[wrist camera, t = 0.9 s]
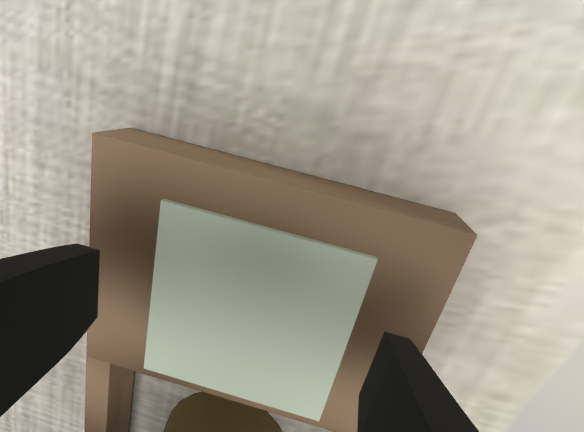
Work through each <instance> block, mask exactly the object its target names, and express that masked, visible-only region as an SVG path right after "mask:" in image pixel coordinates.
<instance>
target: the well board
mask: <svg viewBox="0 0 584 432" xmlns="http://www.w3.org/2000/svg"><path fill="white" fill-rule="evenodd" d="M476 237H477V234H476V233H475V232H474V231H473V230H472V229H471V228H470V227H469V226H468V225H467V224H466V223H465V222H464V221H463V220H462V219H461V218H460V217H459V216H458V215H457V214H456V213H452V212H448V211H444V210H440V209H437V208H433V207H429V206H425V205H421V204H418V203H414V202H410V201H406V200H402V199H399V198H395V197H391V196H387V195H383V194H380V193H376V192H372V191H368V190H364V189H361V188H357V187H353V186H349V185H345V184H342V183H338V182H334V181H330V180H326V179H323V178H319V177H315V176H311V175H307V174H304V173H300V172H296V171H292V170H288V169H285V168H281V167H277V166H273V165H269V164H266V163H262V162H258V161H254V160H250V159H247V158H243V157H239V156H235V155H231V154H228V153H224V152H220V151H216V150H212V149H209V148H205V147H201V146H197V145H193V144H190V143H186V142H182V141H178V140H174V139H171V138H167V137H163V136H159V135H155V134H152V133H148V132H144V131H140V130H136V129H133V128H125V129H118V130H110V131H102V132H95V133H92V170H91V208H90V246H89V247H91V248H94V249H98V250H100V262H99V290H98V317H97V318H96V320H95V321H94V322H93V323H92V325H91V326H90V327H89V328H88V330H87V360H86V398H85V432H129V426H130V415H131V404H132V393H133V382H134V371H136V372H140V373H143V374H146V375H150V376H153V377H156V378H159V379H163V380H166V381H169V382H173V383H176V384H179V385H182V386H186V387H189V388H192V389H196V390H199V391H202V392H206V393H209V394H212V395H215V396H219V397H222V398H225V399H229V400H232V401H235V402H239V403H242V404H245V405H248V406H252V407H255V408H258V409H262V410H265V411H268V412H272V413H275V414H278V415H281V416H285V417H288V418H291V419H295V420H298V421H301V422H305V423H308V424H311V425H314V426H318V427H321V428H324V429H328V430H331V431H334V432H357V428H358V402H359V393H360V391H361V388H362V386H363V383H364V381H365V378H366V376H367V373H368V371H369V368H370V366H371V363H372V361H373V359H374V356H375V354H376V351H377V349H378V346H379V344H380V341H381V339H382V336H383V334H384V331H385V332H388V333H392V334H395V335H399V336H403V337H406V338H410V339H411V341H412V342H413V343H414V344H415V346H416V347H417V348H418V350H419V351H420V352H421V354H422V353H423V351H424V348H425V346H426V344H427V342H428V340H429V338H430V336H431V333H432V331H433V329H434V327H435V325H436V323H437V320H438V318H439V316H440V314H441V312H442V310H443V308H444V305H445V303H446V301H447V299H448V297H449V295H450V292H451V290H452V288H453V286H454V284H455V282H456V280H457V277H458V275H459V273H460V271H461V269H462V267H463V265H464V262H465V260H466V258H467V256H468V254H469V252H470V249H471V247H472V245H473V243H474V241H475V239H476Z"/></svg>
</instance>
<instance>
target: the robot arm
mask: <svg viewBox="0 0 584 432" xmlns="http://www.w3.org/2000/svg"><path fill="white" fill-rule="evenodd" d="M99 262H100V250H98V249H94V248H91V247H87V246H84V245H80V244H71V245H64V246H58V247H53V248H48V249H43V250H39V251H34V252H29V253H25V254H20V255H16V256H12V257H7V258H3V259H0V417H1V416H2V415H3V414H4V413H5V412H6V411H7V410H8V409H9V408H10V407H11V406H12V405H13V404H14V403H15V402H17V401H18V400H19V399H20V398H21V397H22V396H23V395H24V394H25V393H26V392H27V391H28V390H29V389H30V388H31V387H33V386H34V385H35V384H36V383H37V382H38V381H39V380H40V379H41V378H42V377H43V376H44V375H45V374H46V373H47V372H48V371H49V370H50V369H52V368H53V367H54V366H55V365H56V364H57V363H58V362H59V361H60V360H61V359H62V358H63V357H64V356H65V355H66V354H67V353H68V352H69V351H70V350H71V349H72V347H73V346H74V345H75V344H76V343H77V342H78V341H79V339H80V338H81V337H82V336H83V335H84V333H85V332H86V331H87V330H88V328H89V327H90V326H91V325H92V323H93V322H94V321H95V320H96V318H97V317H98V290H99ZM357 432H479V431H478V430H477V428H476V427H475V426H474V424H473V423H472V422H471V420H470V419H469V418H468V417H467V415H466V414H465V413H464V411H463V410H462V409H461V407H460V406H459V405H458V403H457V402H456V401H455V399H454V398H453V396H452V395H451V394H450V392H449V391H448V390H447V388H446V387H445V386H444V384H443V383H442V381H441V380H440V379H439V377H438V376H437V374H436V373H435V372H434V370H433V369H432V367H431V366H430V365H429V363H428V362H427V361H426V359H425V358H424V356H423V355H422V354H421V352H420V351H419V350H418V348H417V347H416V346H415V344H414V343H413V342H412V341H411V339H410V338H406V337H403V336H399V335H395V334H392V333H388V332H385V331H384V334H383V336H382V339H381V341H380V344H379V346H378V349H377V351H376V354H375V356H374V359H373V361H372V363H371V366H370V368H369V371H368V373H367V376H366V378H365V381H364V383H363V386H362V388H361V391H360V393H359V402H358V428H357Z"/></svg>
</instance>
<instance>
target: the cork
mask: <svg viewBox="0 0 584 432" xmlns="http://www.w3.org/2000/svg"><path fill="white" fill-rule="evenodd" d="M164 432H281V430H280V427H279V425H278V424H277V423H276V422H275V421H274V419H273V418H272V417H271V416H270V415H269V414H268V413H267V411H265V410H262V409H258V408H255V407H252V406H248V405H245V404H242V403H239V402H235V401H232V400H229V399H225V398H222V397H219V396H215V395H212V394H209V393H206V392H204V393H197V394H193V395H191V396H189V397H187V398H185V399H183V400H181V401H180V402H179V403H178V404H177V406H176V407H175V408H174V409H173V410H172V412H171V414H170V416H169V419H168V422H167V424H166V427H165V429H164Z"/></svg>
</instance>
